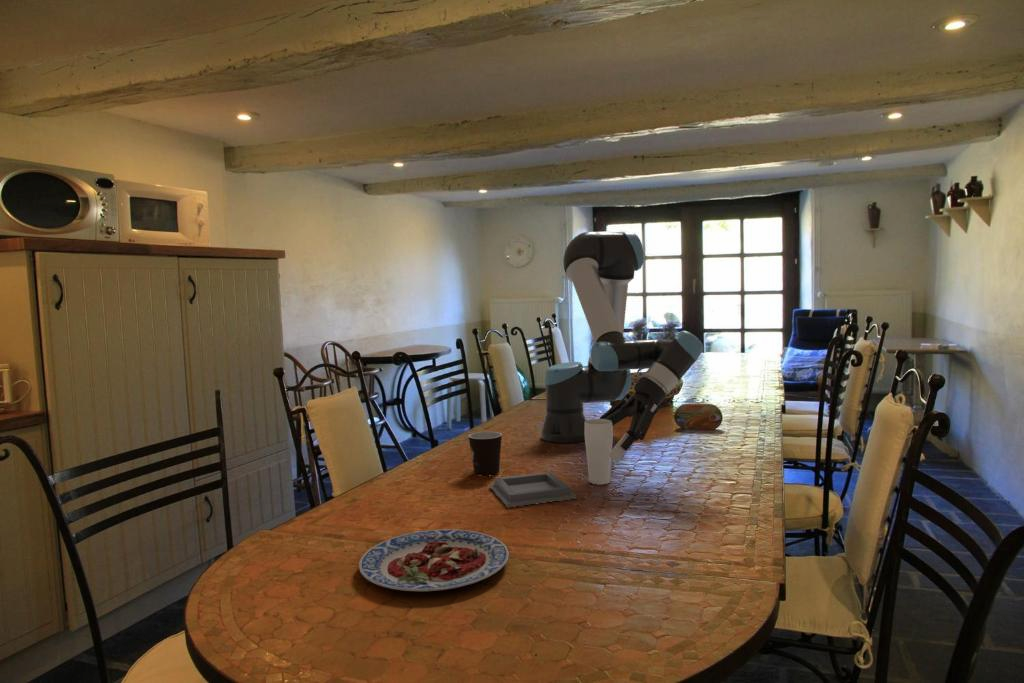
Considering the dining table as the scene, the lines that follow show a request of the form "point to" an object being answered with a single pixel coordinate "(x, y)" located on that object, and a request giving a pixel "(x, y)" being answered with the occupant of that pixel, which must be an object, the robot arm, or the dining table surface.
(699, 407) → the tin
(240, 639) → the dining table surface
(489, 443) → the coffee mug
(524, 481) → the plastic holder
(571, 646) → the dining table surface
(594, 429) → the drinking glass
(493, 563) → the ceramic plate
